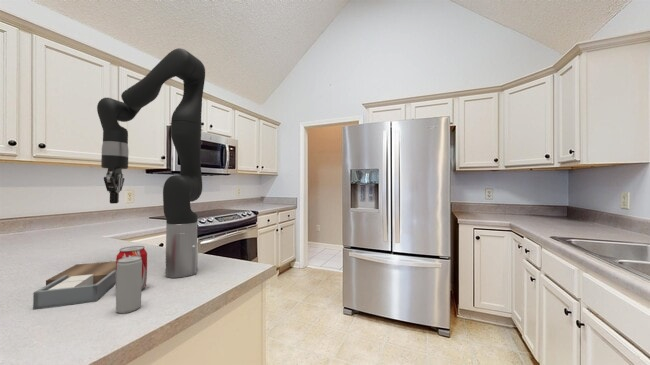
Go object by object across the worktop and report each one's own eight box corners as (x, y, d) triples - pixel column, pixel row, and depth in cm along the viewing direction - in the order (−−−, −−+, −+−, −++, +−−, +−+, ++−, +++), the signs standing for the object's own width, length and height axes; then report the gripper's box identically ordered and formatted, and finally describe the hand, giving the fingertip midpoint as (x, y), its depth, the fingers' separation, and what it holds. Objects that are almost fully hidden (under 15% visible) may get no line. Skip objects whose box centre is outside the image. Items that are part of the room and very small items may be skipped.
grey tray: (116, 283, 77) (116, 270, 77) (96, 301, 65) (96, 285, 65) (64, 289, 73) (64, 275, 73) (33, 309, 61) (33, 292, 61)
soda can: (112, 298, 67) (113, 252, 68) (118, 288, 74) (119, 246, 74) (144, 293, 71) (145, 249, 71) (148, 284, 77) (149, 244, 77)
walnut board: (133, 268, 92) (133, 259, 92) (116, 283, 77) (116, 273, 77) (76, 273, 86) (76, 264, 86) (45, 291, 71) (45, 280, 71)
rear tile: (93, 284, 75) (93, 274, 75) (84, 291, 70) (84, 280, 70) (71, 286, 73) (71, 276, 73) (60, 293, 69) (61, 282, 69)
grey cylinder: (125, 305, 63) (126, 256, 64) (145, 304, 64) (146, 256, 64) (110, 314, 59) (111, 262, 59) (132, 313, 59) (133, 261, 59)
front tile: (83, 291, 70) (84, 280, 70) (73, 299, 65) (73, 287, 65) (60, 294, 68) (60, 282, 68) (47, 302, 64) (47, 289, 64)
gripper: (121, 153, 88) (120, 204, 88) (133, 157, 100) (132, 202, 100) (94, 152, 85) (92, 204, 85) (109, 156, 97) (108, 202, 97)
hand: (114, 203), depth 92 cm, fingers closed
